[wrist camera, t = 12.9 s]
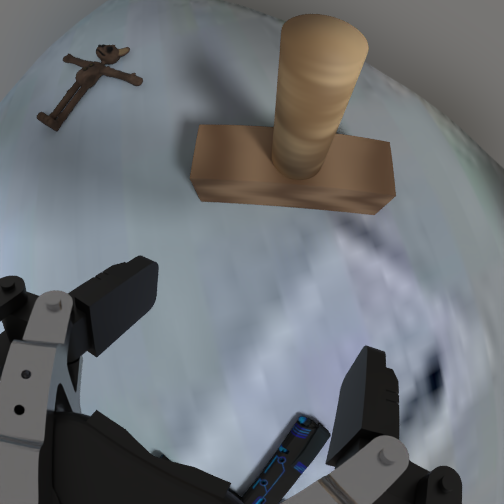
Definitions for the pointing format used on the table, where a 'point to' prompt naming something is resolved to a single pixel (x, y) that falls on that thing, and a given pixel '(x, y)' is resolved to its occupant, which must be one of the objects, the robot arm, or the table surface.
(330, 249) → the table surface
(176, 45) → the table surface
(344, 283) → the table surface
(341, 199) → the walnut rail
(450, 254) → the table surface
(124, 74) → the brown toy figure
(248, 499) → the gun
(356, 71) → the oak post
